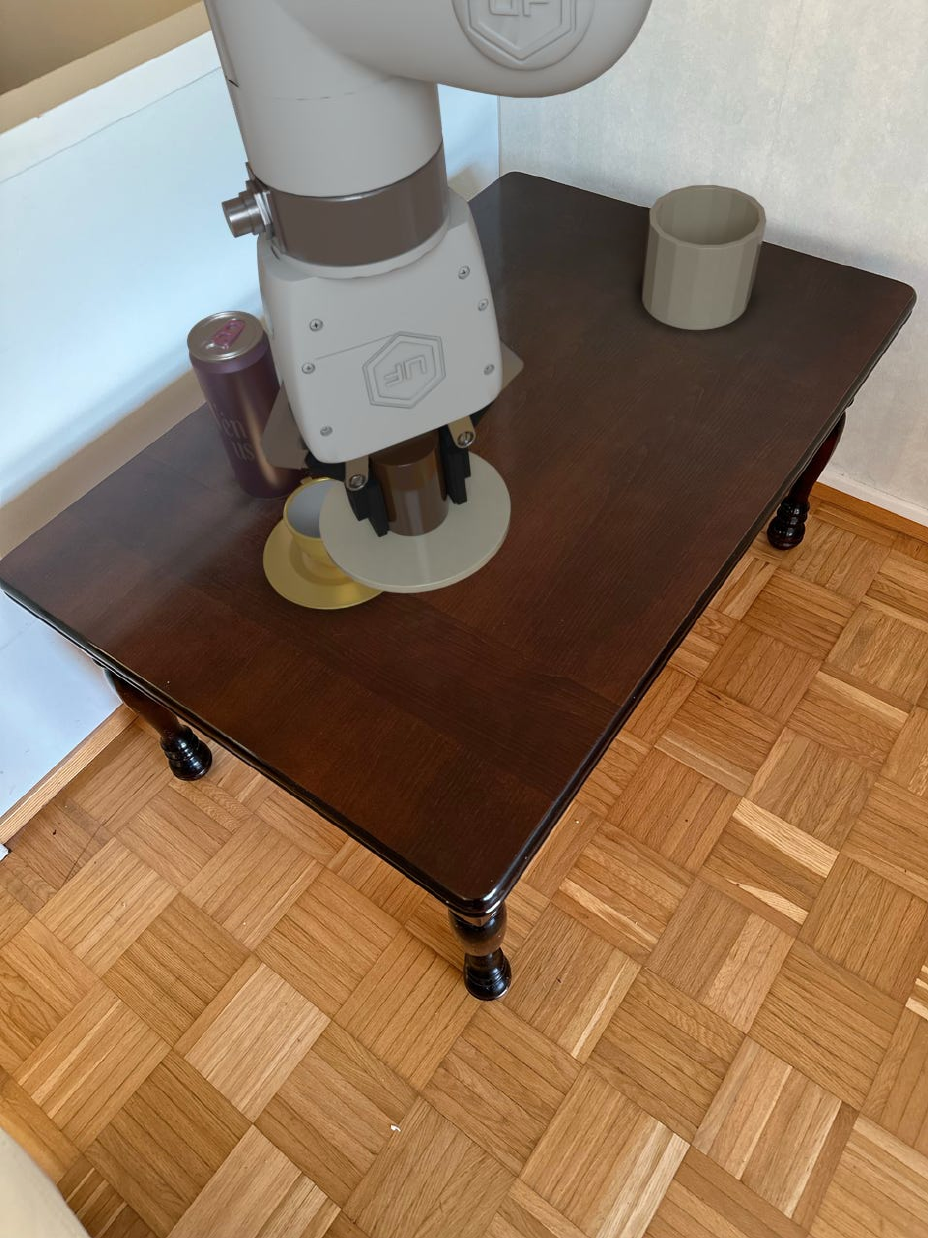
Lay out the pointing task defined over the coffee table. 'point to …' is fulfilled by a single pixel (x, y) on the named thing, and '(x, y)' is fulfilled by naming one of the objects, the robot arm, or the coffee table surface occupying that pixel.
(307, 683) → the coffee table surface
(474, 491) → the lid
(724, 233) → the pot
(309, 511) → the cup
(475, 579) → the coffee table surface
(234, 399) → the beverage can
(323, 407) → the robot arm
